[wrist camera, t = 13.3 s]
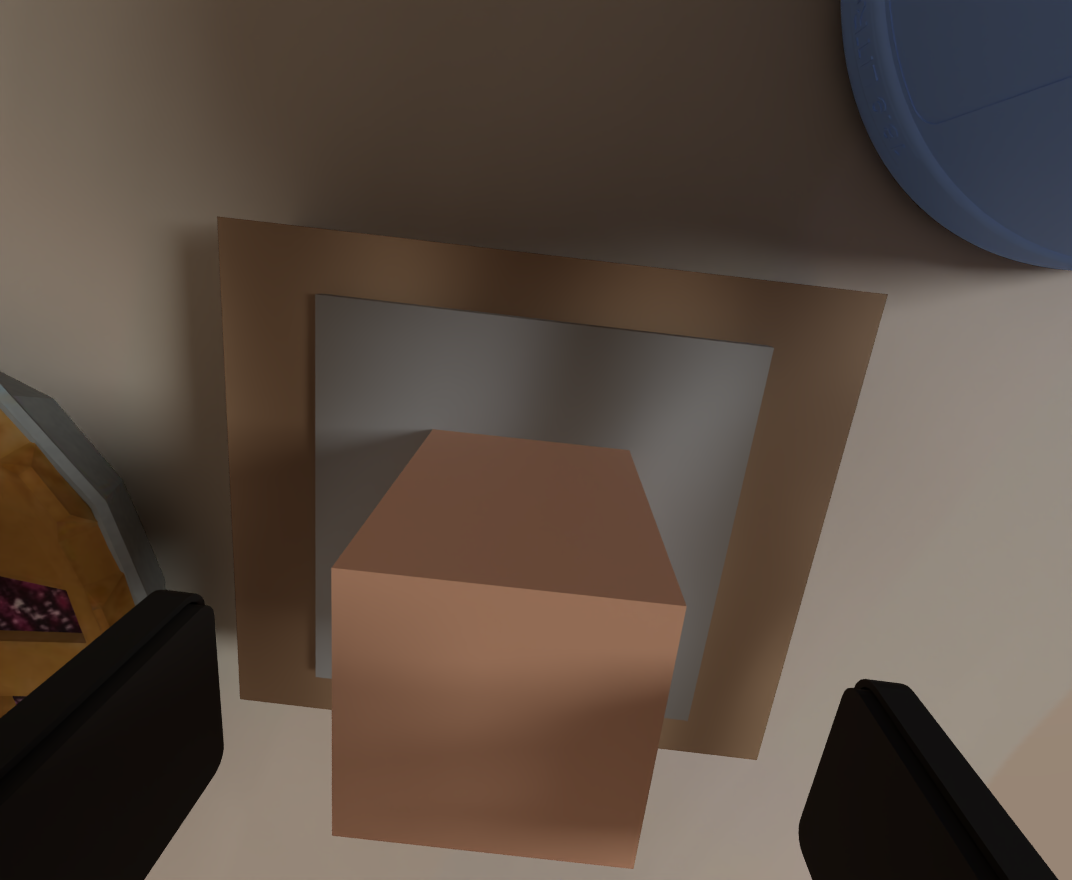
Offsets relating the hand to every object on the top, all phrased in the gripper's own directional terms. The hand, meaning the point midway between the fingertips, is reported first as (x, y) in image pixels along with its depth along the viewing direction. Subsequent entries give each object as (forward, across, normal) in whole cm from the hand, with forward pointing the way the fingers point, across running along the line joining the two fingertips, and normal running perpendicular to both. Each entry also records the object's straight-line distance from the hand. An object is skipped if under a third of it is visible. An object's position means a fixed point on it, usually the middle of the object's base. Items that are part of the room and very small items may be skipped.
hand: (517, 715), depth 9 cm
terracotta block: (+7, 0, +1) cm, 7 cm away
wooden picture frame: (+12, 0, +1) cm, 12 cm away
